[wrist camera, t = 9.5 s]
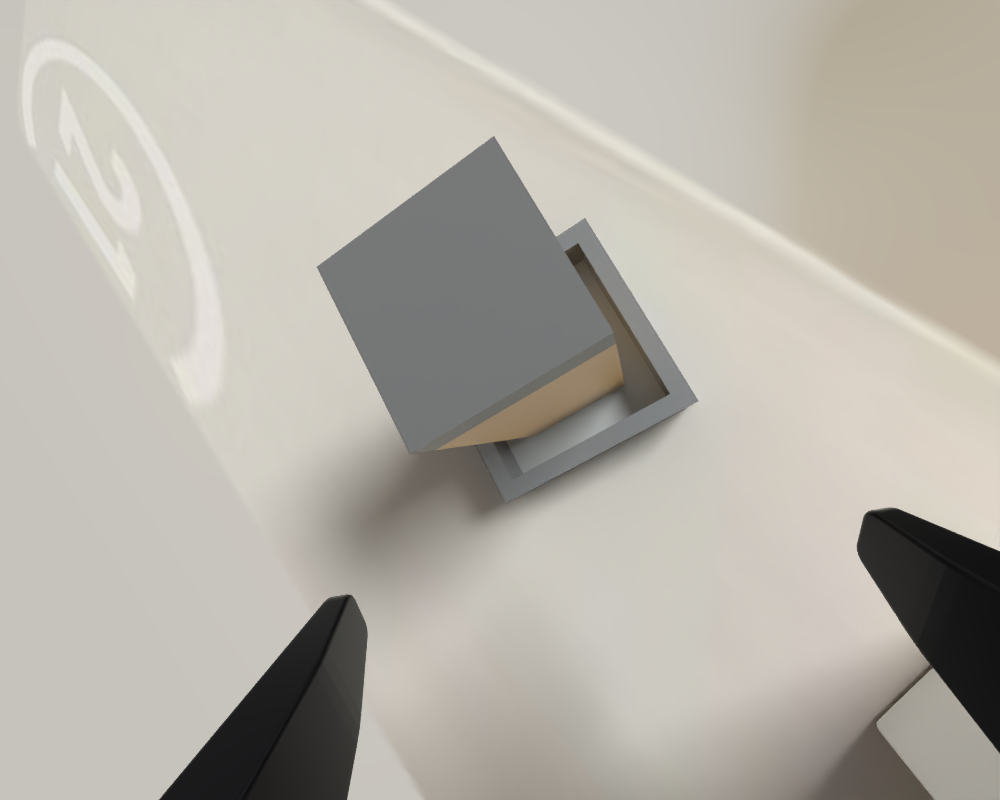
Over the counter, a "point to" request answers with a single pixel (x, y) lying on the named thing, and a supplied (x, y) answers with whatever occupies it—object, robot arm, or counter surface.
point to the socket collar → (615, 416)
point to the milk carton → (942, 743)
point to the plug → (472, 312)
